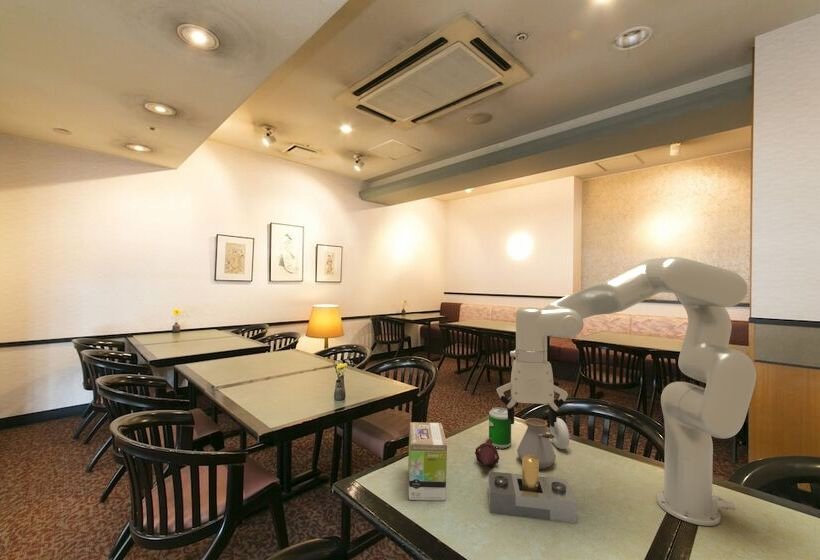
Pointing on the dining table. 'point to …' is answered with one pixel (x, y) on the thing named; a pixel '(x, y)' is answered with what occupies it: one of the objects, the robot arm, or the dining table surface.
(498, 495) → the grey rectangular block
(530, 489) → the pin
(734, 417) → the robot arm
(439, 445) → the tea box
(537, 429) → the coffee pot
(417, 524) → the dining table surface
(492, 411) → the soda can
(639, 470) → the dining table surface
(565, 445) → the donut
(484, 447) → the icecream
